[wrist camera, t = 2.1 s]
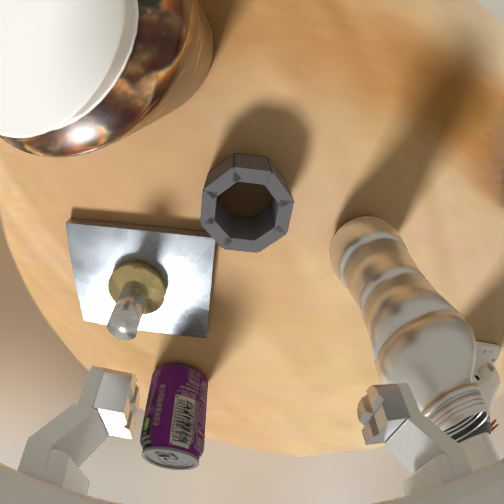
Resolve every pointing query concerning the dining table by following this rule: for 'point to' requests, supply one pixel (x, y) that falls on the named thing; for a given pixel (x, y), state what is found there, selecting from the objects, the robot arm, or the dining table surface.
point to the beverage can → (175, 418)
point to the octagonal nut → (244, 228)
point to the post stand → (142, 277)
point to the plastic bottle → (410, 325)
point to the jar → (96, 69)
